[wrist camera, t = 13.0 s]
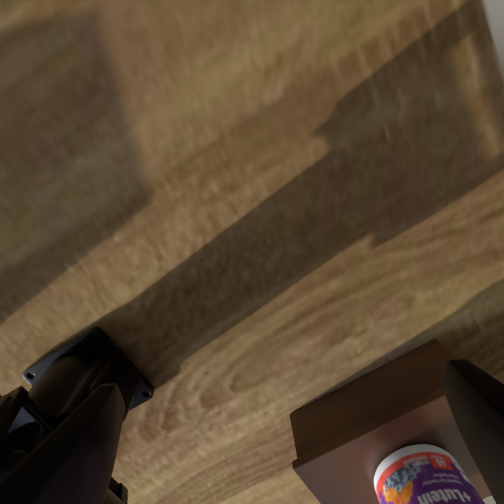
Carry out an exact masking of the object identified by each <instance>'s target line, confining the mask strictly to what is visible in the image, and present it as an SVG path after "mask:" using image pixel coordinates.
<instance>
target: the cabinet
mask: <svg viewBox="0 0 504 504" xmlns="http://www.w3.org/2000/svg"><path fill="white" fill-rule="evenodd" d="M448 359H456V358H455V357H454V356H453V355H452V354H451V353H450V352H449V351H448V350H447V349H446V348H445V347H444V346H443V345H442V344H441V343H440V342H439V341H438V340H437V339H434V340H432V341H430V342H429V343H427V344H425V345H423V346H421V347H419V348H417V349H415V350H413V351H411V352H409V353H407V354H405V355H403V356H401V357H400V358H398V359H396V360H394V361H392V362H390V363H388V364H386V365H384V366H382V367H380V368H378V369H376V370H374V371H372V372H371V373H369V374H367V375H365V376H363V377H361V378H359V379H357V380H355V381H353V382H351V383H349V384H347V385H345V386H343V387H342V388H340V389H338V390H336V391H334V392H332V393H330V394H328V395H326V396H324V397H322V398H320V399H318V400H316V401H314V402H313V403H311V404H309V405H307V406H305V407H303V408H301V409H299V410H297V411H295V412H293V413H291V414H290V420H291V426H292V431H293V437H294V442H295V447H296V453H297V458H298V459H296V460H294V461H292V465H293V470H294V471H295V472H296V474H297V475H298V476H299V477H300V479H301V480H302V481H303V482H304V483H305V485H306V486H307V487H308V488H309V490H310V491H311V492H312V493H313V495H314V496H315V497H316V498H317V500H318V501H319V502H320V503H321V504H380V503H379V500H378V497H377V494H376V491H375V487H374V476H375V472H376V470H377V468H378V466H379V465H380V463H381V462H382V461H383V460H384V459H385V458H386V457H387V456H389V455H390V454H391V453H393V452H395V451H396V450H399V449H401V448H404V447H407V446H410V445H417V444H428V445H433V446H437V447H439V448H442V449H444V450H445V451H447V452H448V453H450V454H451V455H452V456H453V457H454V459H455V460H456V461H457V463H458V464H459V465H460V467H461V468H462V470H463V471H464V473H465V474H466V476H467V477H468V479H469V480H470V482H471V483H472V485H473V486H474V488H475V489H476V491H477V492H478V494H479V495H480V497H481V499H484V498H486V497H489V496H491V495H492V494H491V492H490V490H489V488H488V487H487V485H486V483H485V481H484V479H483V477H482V475H481V473H480V472H479V470H478V468H477V466H476V464H475V462H474V460H473V458H472V457H471V455H470V453H469V451H468V449H467V447H466V444H465V442H464V440H463V438H462V435H461V433H460V431H459V428H458V426H457V423H456V421H455V418H454V416H453V414H452V411H451V409H450V406H449V404H448V401H447V399H446V397H445V394H444V392H443V389H442V386H441V379H442V375H443V371H444V367H445V363H446V361H447V360H448Z"/></svg>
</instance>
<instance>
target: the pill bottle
mask: <svg viewBox="0 0 504 504" xmlns="http://www.w3.org/2000/svg"><path fill="white" fill-rule="evenodd" d="M374 487H375V491H376V494H377V497H378V500H379V503H380V504H485V503H484V502H483V500H482V499H481V497H480V495H479V494H478V492H477V491H476V489H475V488H474V486H473V485H472V483H471V482H470V480H469V479H468V477H467V476H466V474H465V473H464V471H463V470H462V468H461V467H460V465H459V464H458V463H457V461H456V460H455V459H454V457H453V456H452V455H451V454H450V453H448V452H447V451H445V450H444V449H442V448H439V447H437V446H433V445H428V444H417V445H410V446H407V447H404V448H401V449H399V450H396V451H395V452H393V453H391V454H390V455H389V456H387V457H386V458H385V459H384V460H383V461H382V462H381V463H380V465H379V466H378V468H377V470H376V472H375V476H374Z"/></svg>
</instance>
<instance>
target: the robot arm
mask: <svg viewBox="0 0 504 504" xmlns="http://www.w3.org/2000/svg"><path fill="white" fill-rule="evenodd" d="M93 334H96V335H97V336H98V337H95V336H93ZM31 373H32V374H34V375H32V374H31ZM23 377H24V379H25V380H26V381H27V382H28V383H29V384H30V385H31V386H32V388H31V389H30V390H29V392H27V391H26V390H25V389H24V388H23V387H22V386H20V387H18V388H17V389H15V390H13V391H11V392H10V393H8V394H6V395H4V396H1V395H0V504H127V498H128V490H127V488H126V487H125V486H124V485H123V484H122V483H118V482H117V481H116V480H114V479H113V478H112V477H111V475H112V472H113V468H114V463H115V458H116V453H117V448H118V443H119V438H120V433H121V428H122V422H124V421H125V418H126V416H127V413H128V411H129V410H131V409H133V408H135V407H136V406H138V405H140V404H142V403H144V402H145V401H147V400H149V399H151V398H152V396H153V394H154V387H153V386H152V385H151V384H150V383H149V382H148V380H147V379H146V378H145V377H144V376H143V375H142V373H141V372H140V371H139V369H138V368H137V367H136V366H135V365H134V364H133V363H132V362H131V361H130V359H129V358H128V357H127V356H126V355H125V354H124V353H123V352H122V350H121V349H119V348H118V347H117V346H116V345H115V344H114V343H113V341H112V340H111V339H110V338H109V337H108V336H107V335H106V334H105V333H104V331H103V330H102V329H100V328H98V327H93V328H91V329H89V330H87V331H86V332H84V333H83V334H81V335H79V336H78V337H76V338H74V339H73V340H71V341H70V342H68V343H66V344H65V345H63V346H62V347H60V348H58V349H57V350H55V351H53V352H52V353H50V354H49V355H47V356H45V357H44V358H42V359H40V360H39V361H37V362H36V363H34V364H32V365H31V366H29V367H28V368H27V369H26V370H25V371H24V372H23ZM441 386H442V389H443V392H444V394H445V397H446V399H447V401H448V404H449V406H450V409H451V411H452V414H453V416H454V418H455V421H456V423H457V426H458V428H459V431H460V433H461V435H462V438H463V440H464V442H465V444H466V447H467V449H468V451H469V453H470V455H471V457H472V458H473V460H474V462H475V464H476V466H477V468H478V470H479V472H480V473H481V475H482V477H483V479H484V481H485V483H486V485H487V487H488V488H489V490H490V492H491V494H492V496H493V498H494V500H495V501H496V504H504V384H503V383H501V382H500V381H498V380H497V379H495V378H493V377H492V376H490V375H489V374H487V373H486V372H484V371H483V370H481V369H480V368H478V367H477V366H475V365H474V364H472V363H470V362H469V361H467V360H466V359H463V358H457V359H448V360H447V361H446V363H445V367H444V371H443V375H442V379H441ZM144 391H148V392H149V393H146V392H144Z"/></svg>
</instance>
